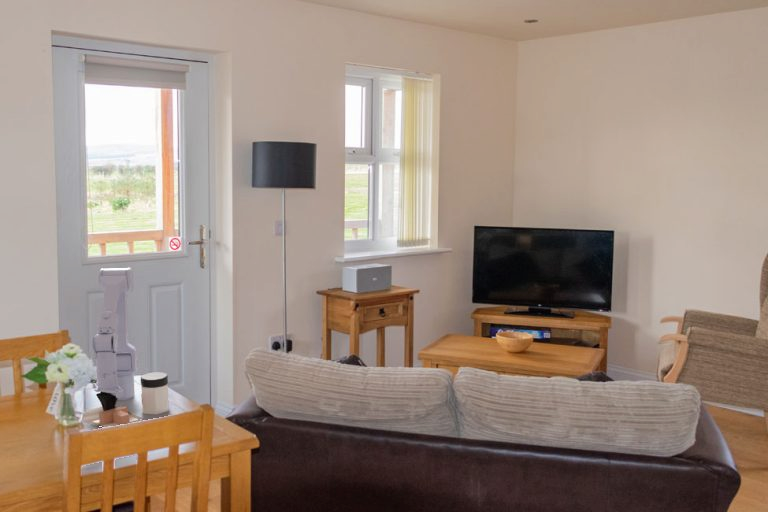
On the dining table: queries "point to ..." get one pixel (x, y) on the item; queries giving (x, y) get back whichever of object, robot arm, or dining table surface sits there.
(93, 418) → the board
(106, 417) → the t block
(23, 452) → the dining table surface
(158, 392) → the jar
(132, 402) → the dining table surface
